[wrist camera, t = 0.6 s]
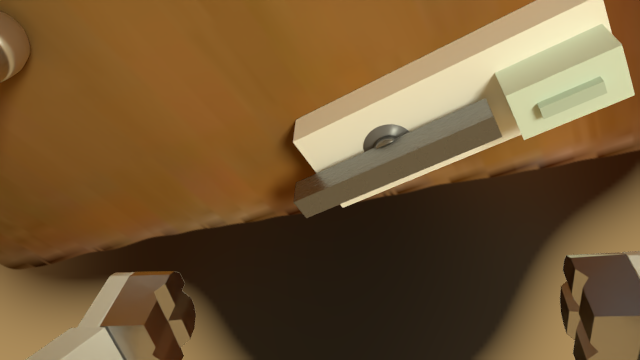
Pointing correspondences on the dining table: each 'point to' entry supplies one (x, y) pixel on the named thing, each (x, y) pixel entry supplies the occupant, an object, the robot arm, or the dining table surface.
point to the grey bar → (398, 158)
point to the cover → (566, 81)
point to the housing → (441, 86)
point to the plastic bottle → (12, 47)
